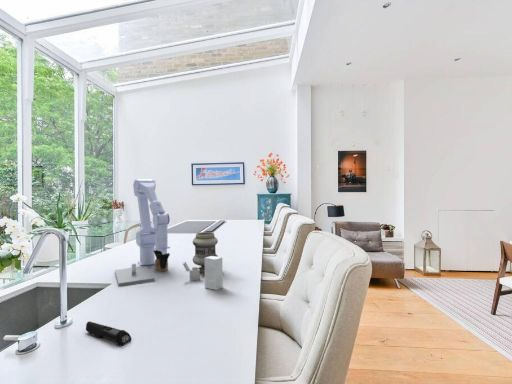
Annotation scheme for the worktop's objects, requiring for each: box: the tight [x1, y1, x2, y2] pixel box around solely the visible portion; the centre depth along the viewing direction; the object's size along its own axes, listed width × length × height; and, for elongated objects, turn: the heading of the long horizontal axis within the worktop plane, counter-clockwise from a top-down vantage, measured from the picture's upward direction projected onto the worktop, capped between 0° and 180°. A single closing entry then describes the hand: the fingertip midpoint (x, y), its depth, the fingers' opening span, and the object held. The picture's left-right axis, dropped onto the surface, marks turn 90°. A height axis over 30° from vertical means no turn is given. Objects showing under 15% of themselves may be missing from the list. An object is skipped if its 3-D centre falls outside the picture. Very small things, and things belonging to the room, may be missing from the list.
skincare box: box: [204, 256, 224, 291], centre depth 118 cm, size 6×4×12 cm
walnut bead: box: [154, 258, 169, 272], centre depth 143 cm, size 5×5×5 cm
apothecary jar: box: [192, 231, 219, 275], centre depth 141 cm, size 12×12×18 cm
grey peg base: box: [114, 262, 156, 287], centre depth 133 cm, size 22×14×6 cm, turn 29°
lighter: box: [182, 261, 201, 281], centre depth 128 cm, size 7×2×8 cm, turn 107°
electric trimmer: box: [85, 321, 132, 347], centre depth 80 cm, size 4×16×3 cm, turn 63°
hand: (161, 266), depth 143 cm, fingers open, 7 cm apart
